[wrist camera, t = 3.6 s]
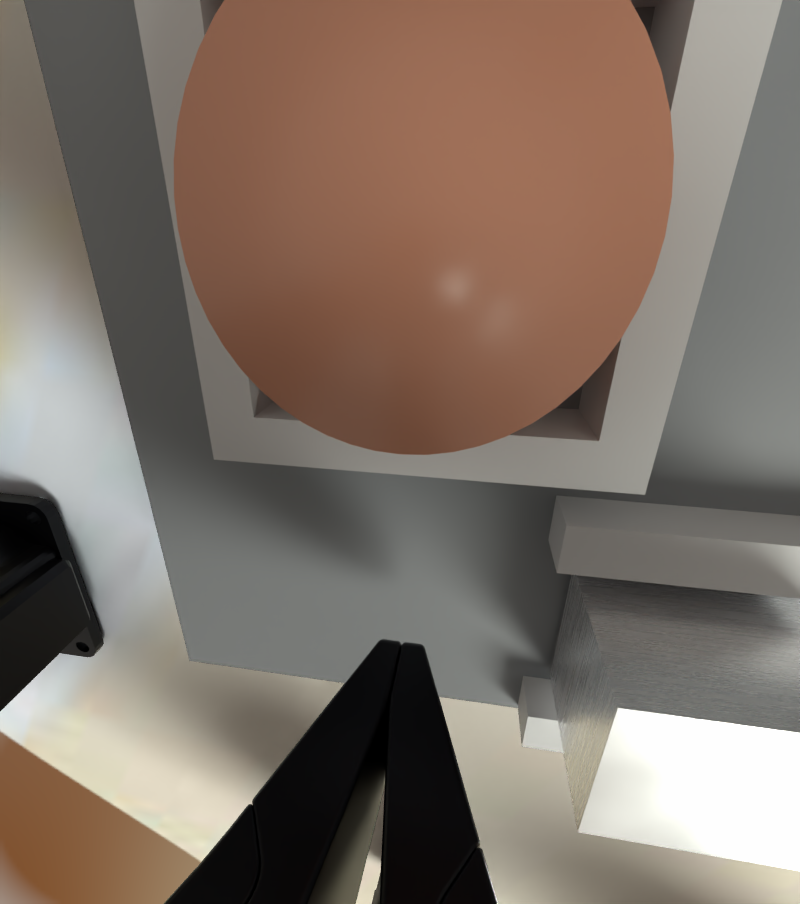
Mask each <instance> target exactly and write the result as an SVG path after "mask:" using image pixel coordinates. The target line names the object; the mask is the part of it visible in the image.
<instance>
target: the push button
mask: <svg viewBox="0 0 800 904" xmlns="http://www.w3.org/2000/svg"><path fill="white" fill-rule="evenodd" d="M673 165H674V150H673V137H672V124H671V113H670V108H669V103H668V99H667V94H666V89H665V85H664V80H663V75H662V71H661V68H660V65H659V63H658V60H657V57H656V54H655V52H654V49H653V46H652V44H651V41H650V38H649V35H648V33H647V30H646V28H645V26H644V24H643V23H642V21H641V19H640V17H639V15H638V13H637V12H636V10H635V8H634V6H633V4H632V2H631V1H630V0H224V2H223V3H222V5H221V6H220V8H219V9H218V11H217V12H216V14H215V16H214V18H213V20H212V22H211V24H210V26H209V28H208V30H207V32H206V34H205V36H204V38H203V40H202V42H201V44H200V46H199V48H198V51H197V54H196V57H195V60H194V63H193V65H192V68H191V71H190V74H189V77H188V80H187V83H186V86H185V90H184V95H183V99H182V104H181V109H180V113H179V118H178V122H177V132H176V142H175V151H174V200H175V208H176V217H177V226H178V232H179V236H180V241H181V245H182V250H183V254H184V259H185V263H186V266H187V269H188V272H189V275H190V277H191V280H192V283H193V286H194V289H195V292H196V294H197V297H198V299H199V301H200V303H201V305H202V308H203V310H204V312H205V314H206V316H207V318H208V321H209V322H210V324H211V326H212V327H213V329H214V331H215V332H216V334H217V336H218V337H219V339H220V341H221V342H222V344H223V346H224V347H225V349H226V350H227V351H228V353H229V354H230V355H231V357H232V358H233V359H234V361H235V362H236V363H237V365H238V366H239V367H240V369H241V370H242V371H243V372H244V373H245V374H246V375H247V376H248V377H249V378H250V380H251V381H252V382H253V383H254V384H255V385H256V386H257V387H258V388H259V389H260V390H261V391H262V392H263V393H264V394H265V395H267V396H268V397H269V398H270V399H271V400H272V401H274V402H275V403H276V404H277V405H278V406H279V407H281V408H282V409H283V410H285V411H286V412H288V413H289V414H291V415H292V416H294V417H295V418H297V419H298V420H300V421H301V422H302V423H304V424H306V425H308V426H310V427H312V428H314V429H316V430H317V431H319V432H321V433H323V434H325V435H327V436H330V437H332V438H335V439H337V440H340V441H343V442H345V443H348V444H350V445H354V446H358V447H362V448H366V449H370V450H373V451H379V452H386V453H394V454H402V455H431V454H440V453H450V452H456V451H460V450H465V449H469V448H474V447H478V446H481V445H484V444H487V443H490V442H493V441H495V440H498V439H501V438H504V437H506V436H508V435H510V434H512V433H514V432H516V431H518V430H520V429H522V428H524V427H526V426H528V425H530V424H532V423H534V422H535V421H537V420H538V419H540V418H541V417H543V416H544V415H546V414H547V413H549V412H550V411H552V410H553V409H555V408H556V407H557V406H559V405H560V404H561V403H562V402H563V401H565V400H566V399H567V398H568V397H569V396H571V395H572V394H573V393H574V392H575V391H576V390H578V389H579V388H580V387H581V386H582V385H583V384H584V383H585V382H586V381H587V380H588V378H589V377H590V376H591V375H592V374H593V373H594V372H595V371H596V370H597V369H598V368H599V367H600V366H601V365H602V363H603V362H604V361H605V359H606V358H607V357H608V355H609V354H610V353H611V351H612V350H613V349H614V347H615V346H616V345H617V343H618V342H619V341H620V339H621V338H622V336H623V335H624V333H625V331H626V329H627V328H628V326H629V324H630V322H631V321H632V319H633V317H634V315H635V314H636V312H637V310H638V309H639V307H640V305H641V302H642V300H643V298H644V295H645V293H646V291H647V288H648V286H649V284H650V281H651V279H652V277H653V274H654V272H655V268H656V265H657V262H658V258H659V255H660V252H661V248H662V245H663V242H664V238H665V234H666V228H667V223H668V217H669V211H670V205H671V199H672V186H673Z"/></svg>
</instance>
